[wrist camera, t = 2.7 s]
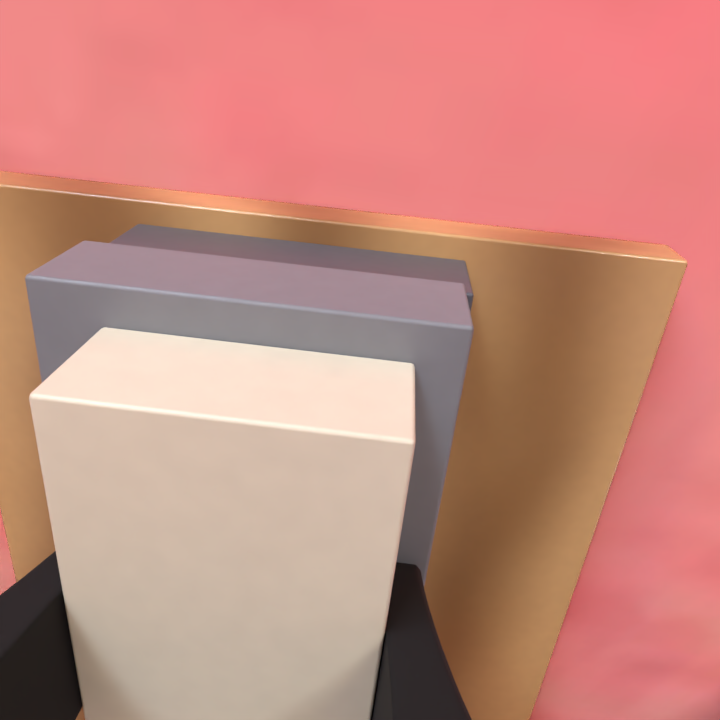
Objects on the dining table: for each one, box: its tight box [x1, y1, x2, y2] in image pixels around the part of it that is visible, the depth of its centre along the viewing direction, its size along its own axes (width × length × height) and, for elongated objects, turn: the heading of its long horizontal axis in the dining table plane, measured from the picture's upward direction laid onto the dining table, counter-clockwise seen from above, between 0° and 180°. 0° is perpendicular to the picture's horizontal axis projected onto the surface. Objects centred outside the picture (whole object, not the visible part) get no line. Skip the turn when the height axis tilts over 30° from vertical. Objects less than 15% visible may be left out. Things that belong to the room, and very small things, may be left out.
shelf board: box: [0, 171, 687, 720], centre depth 19 cm, size 16×25×1 cm, turn 175°
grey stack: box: [25, 224, 474, 586], centre depth 14 cm, size 7×11×4 cm, turn 175°
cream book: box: [29, 327, 416, 720], centre depth 11 cm, size 5×10×2 cm, turn 175°
